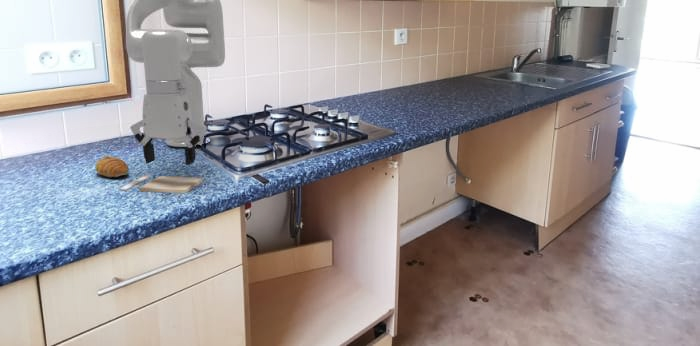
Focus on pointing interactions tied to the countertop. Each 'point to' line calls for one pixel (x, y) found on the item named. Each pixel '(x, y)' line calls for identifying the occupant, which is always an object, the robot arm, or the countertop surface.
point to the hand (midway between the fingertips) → (170, 162)
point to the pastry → (111, 167)
